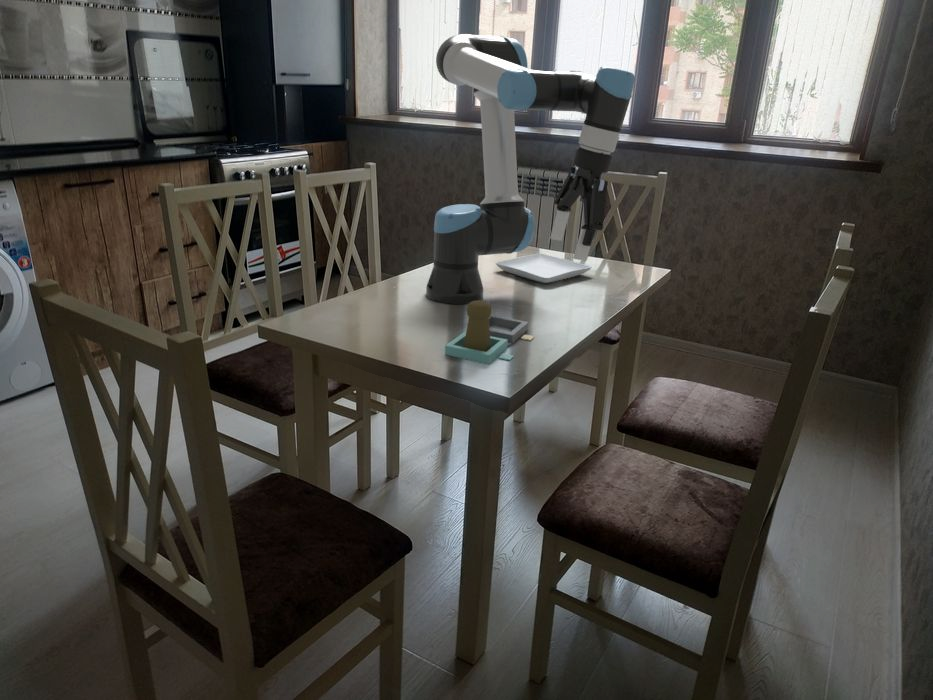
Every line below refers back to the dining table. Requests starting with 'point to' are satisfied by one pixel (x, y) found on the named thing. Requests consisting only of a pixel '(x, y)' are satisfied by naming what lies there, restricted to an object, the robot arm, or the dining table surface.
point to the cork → (478, 326)
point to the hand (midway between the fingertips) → (567, 249)
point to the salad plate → (543, 267)
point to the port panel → (491, 341)
